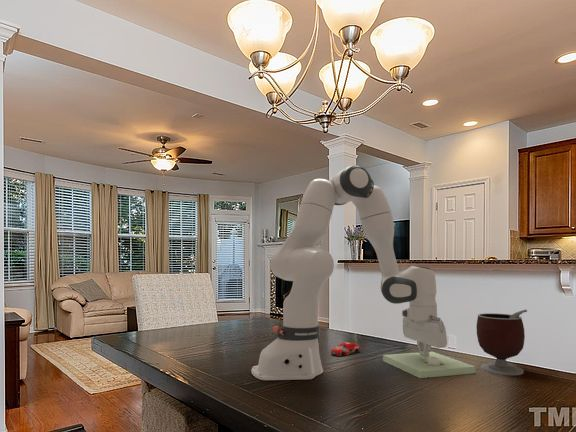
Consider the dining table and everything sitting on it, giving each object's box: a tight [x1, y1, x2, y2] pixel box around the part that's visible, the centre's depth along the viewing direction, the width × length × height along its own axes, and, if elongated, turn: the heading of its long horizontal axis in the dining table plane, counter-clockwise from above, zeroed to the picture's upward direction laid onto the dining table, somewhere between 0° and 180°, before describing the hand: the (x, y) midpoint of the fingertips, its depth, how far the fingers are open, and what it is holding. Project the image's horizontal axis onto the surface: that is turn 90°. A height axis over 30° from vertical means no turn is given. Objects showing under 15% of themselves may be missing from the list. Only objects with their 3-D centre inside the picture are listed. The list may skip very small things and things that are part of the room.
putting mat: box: [382, 351, 477, 379], centre depth 139 cm, size 20×22×2 cm
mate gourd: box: [476, 309, 528, 376], centre depth 136 cm, size 16×14×20 cm
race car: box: [330, 341, 361, 357], centre depth 158 cm, size 13×5×4 cm, turn 130°
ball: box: [427, 357, 440, 366], centre depth 136 cm, size 4×4×4 cm
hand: (424, 356), depth 141 cm, fingers closed
